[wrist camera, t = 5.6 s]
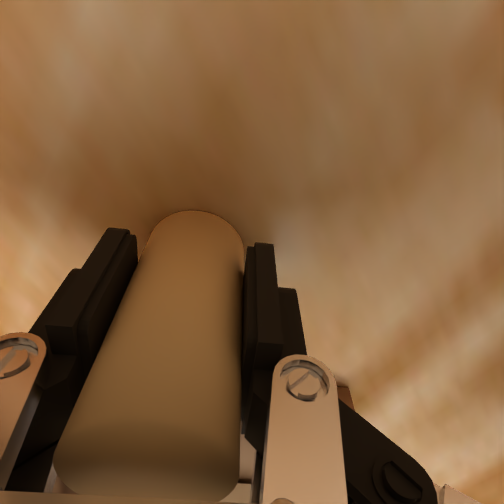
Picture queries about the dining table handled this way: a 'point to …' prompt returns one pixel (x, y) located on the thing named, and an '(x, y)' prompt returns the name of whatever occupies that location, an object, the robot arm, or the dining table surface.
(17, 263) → the dining table surface
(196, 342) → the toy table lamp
